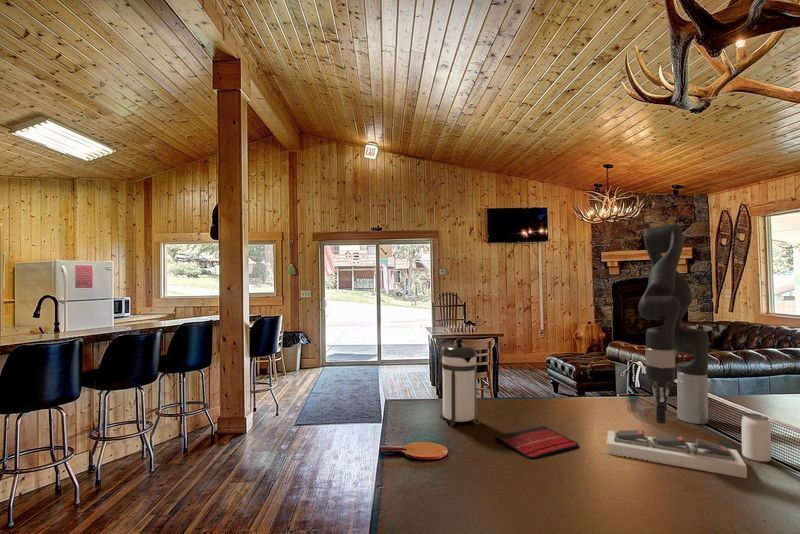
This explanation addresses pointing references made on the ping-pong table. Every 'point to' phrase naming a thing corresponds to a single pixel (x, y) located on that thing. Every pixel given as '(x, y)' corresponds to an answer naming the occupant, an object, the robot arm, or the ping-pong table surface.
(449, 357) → the coffee press
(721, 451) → the rocker
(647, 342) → the robot arm
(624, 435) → the rocker
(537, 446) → the binder
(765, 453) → the can
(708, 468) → the switch panel
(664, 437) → the rocker
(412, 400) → the ping-pong table surface
